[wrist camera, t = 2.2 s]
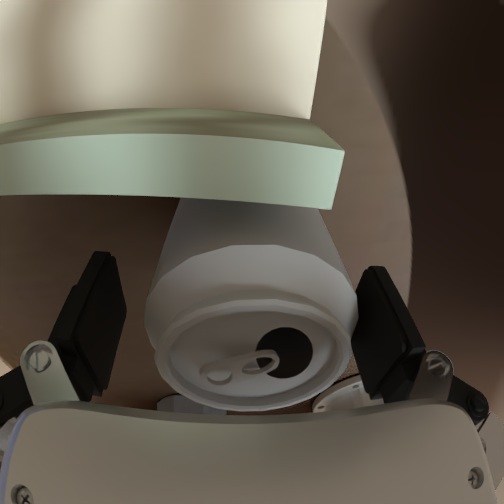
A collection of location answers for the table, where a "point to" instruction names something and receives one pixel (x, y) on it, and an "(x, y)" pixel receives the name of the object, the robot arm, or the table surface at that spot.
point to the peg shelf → (164, 100)
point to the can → (249, 305)
